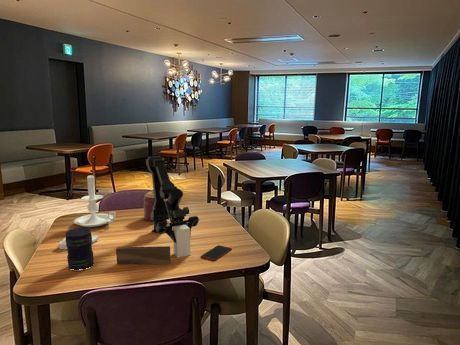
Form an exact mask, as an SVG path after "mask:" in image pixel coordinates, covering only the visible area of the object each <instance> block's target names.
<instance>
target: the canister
mask: <svg viewBox="0 0 460 345" xmlns="http://www.w3.org/2000/svg"><path fill="white" fill-rule="evenodd" d="M142 201H143V202H144V203H143V213H144V214H143V217H144V220H145V221H147V222H153V221H152V220H151V212H152V210H153V209H152V207H153V205H154V202H155V198H154V190H153V189H152V190H151V191H148V192H146V193H145V194H144V198H143V199H142ZM164 201H165V202H166V201H167V199H164Z"/></svg>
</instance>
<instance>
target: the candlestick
mask: <svg viewBox="0 0 460 345" xmlns="http://www.w3.org/2000/svg"><path fill="white" fill-rule="evenodd" d="M86 179H87V193H88V195H85V196H82V197H81V198H80V200H83V201H88V202H89V203H88V205H87V211H88V212H89V213H90V214H85V215H82V216H80V217H79V216H78V217H77V218H75V219H74V220H73V223H74V224H75V225H77V226H80V227H82V228H97V227H101V226H104V225H105V224H106V225H107V224H113V223H114V220H115V218H116V217H117V216H116V213H117V212H116V211H109V212H108V213H97V212H98V211H99V209H100V208H99V205H98V203H97V200H100V199H103V198H104V195H103V194H96V191H95V190H96V189H95V188H96V183H95V182H96V181H95V180H96V179H95V176H94V175H90V174H89V175H88V176H87V177H86Z"/></svg>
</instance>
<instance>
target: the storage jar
mask: <svg viewBox="0 0 460 345" xmlns="http://www.w3.org/2000/svg"><path fill="white" fill-rule="evenodd" d="M64 234H65V235H64V236H65V237H66V246H67V249H68V250H67V257H66V259H67V265H68V269H69V268H70V269H74V270H79V269H86V268H89V267H91V266H93V267H94V265H95V262H94V261H95V260H94V251H93V247H92V245H93V243H92V235H93V234H92V229H91V228H90V227H77V228H76V227H75V228H72V229H71V228H70V230H66V232H65V233H64ZM91 234H92V235H91ZM93 264H94V265H93ZM91 268H92V267H91Z"/></svg>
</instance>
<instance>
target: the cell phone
mask: <svg viewBox="0 0 460 345" xmlns="http://www.w3.org/2000/svg"><path fill="white" fill-rule="evenodd" d="M232 250H233V249H232V247H228V246H223V245H219V244H218V245H216V246H215V247H213V248H212V249H210V250H208V251H206V252H205V253H203V254H201V255H200V259H205V260H208V261H210V262H216V261H218V260H219V259H220V258H222V257H224V256H225V255H226V254H228V253H230V252H231V251H232Z"/></svg>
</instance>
